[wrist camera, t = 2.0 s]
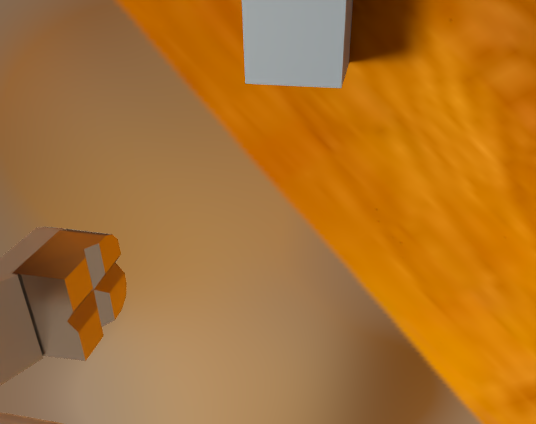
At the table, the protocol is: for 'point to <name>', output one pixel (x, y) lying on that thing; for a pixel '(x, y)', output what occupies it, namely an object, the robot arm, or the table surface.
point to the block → (296, 42)
